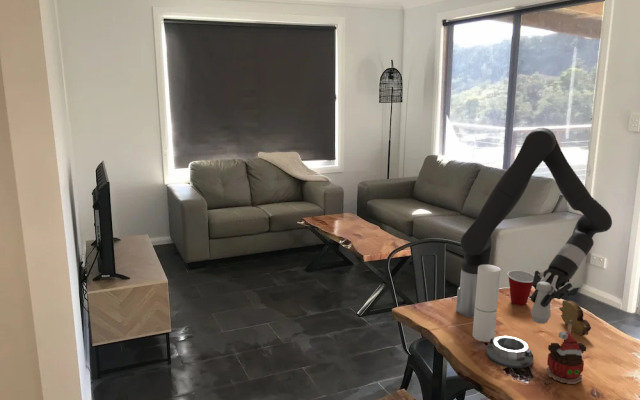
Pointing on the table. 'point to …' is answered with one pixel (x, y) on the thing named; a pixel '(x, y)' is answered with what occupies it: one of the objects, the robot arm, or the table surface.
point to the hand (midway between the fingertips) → (537, 303)
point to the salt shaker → (538, 311)
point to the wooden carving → (574, 317)
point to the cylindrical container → (486, 302)
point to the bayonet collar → (509, 352)
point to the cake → (566, 359)
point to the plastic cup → (520, 286)
